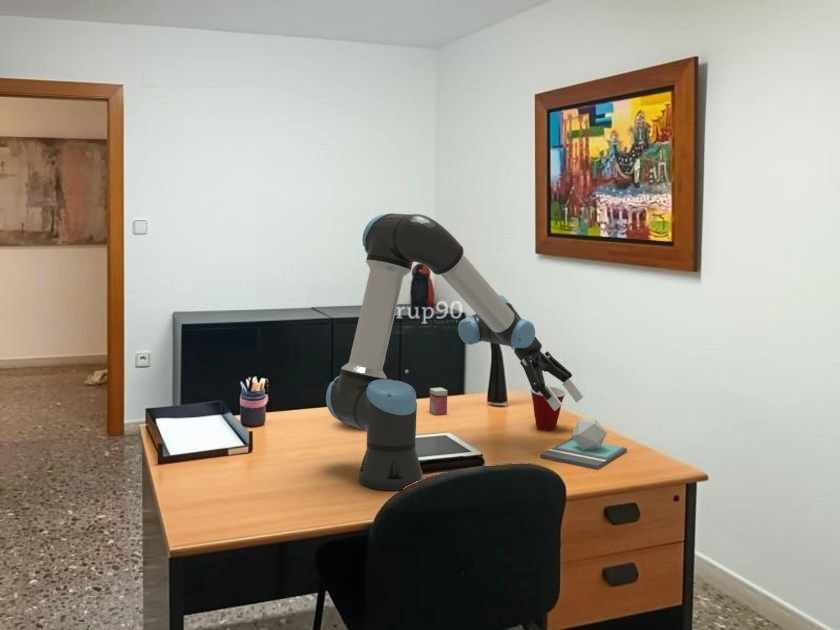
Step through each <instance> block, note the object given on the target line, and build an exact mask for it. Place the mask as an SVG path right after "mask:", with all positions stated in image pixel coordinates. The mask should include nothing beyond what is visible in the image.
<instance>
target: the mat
mask: <svg viewBox="0 0 840 630" xmlns="http://www.w3.org/2000/svg"><path fill="white" fill-rule="evenodd" d="M627 451H628V448H627V447H624V446H619V445H615V444H608V443H604V442H603V443H602V445H601V447H600V449H597V450H581V448H580V447H579V446H578V444H577V443H576V442H575V441H574V439H573V438H572V437H571V438H570V439H567V440H565V441H564V442H561V443H559V444H558V445H556V446H553V447H552V448H549V449H547V450H546V451H544V452H542V453H540V454H539V455H540V457H539V458H540V459H545V460H550V461H553V462H554V461H555V462H557V463H558V462H559V463H565V464H568V465H575V466H579V467H583V468H588V469H593V470H599V469H601V468H602V467H604V466H605V465H607V464H609V463H611V462H612V461H614V460H615V459H617V458H618V457H621V456H622V455H623V454H625V453H626V452H627Z"/></svg>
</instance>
